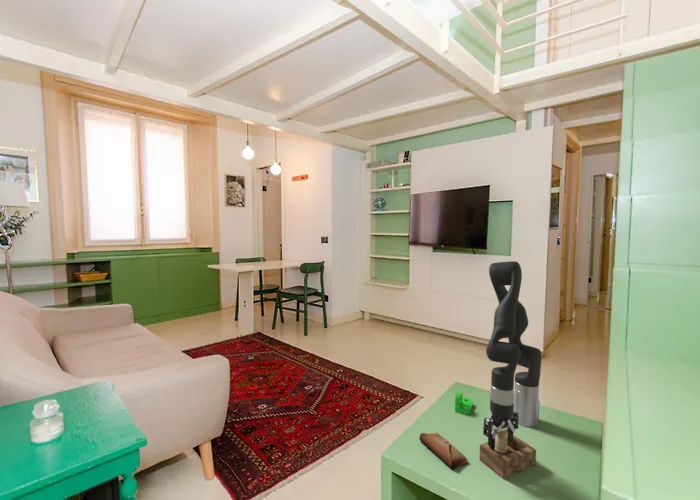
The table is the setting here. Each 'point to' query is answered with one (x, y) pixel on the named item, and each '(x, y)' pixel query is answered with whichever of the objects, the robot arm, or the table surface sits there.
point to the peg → (501, 442)
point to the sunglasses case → (443, 450)
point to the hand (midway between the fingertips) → (500, 444)
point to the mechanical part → (463, 404)
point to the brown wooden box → (509, 458)
